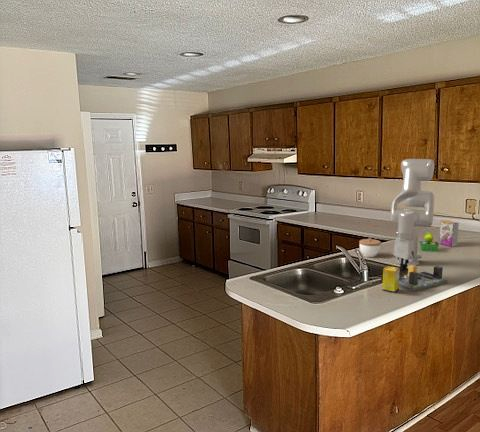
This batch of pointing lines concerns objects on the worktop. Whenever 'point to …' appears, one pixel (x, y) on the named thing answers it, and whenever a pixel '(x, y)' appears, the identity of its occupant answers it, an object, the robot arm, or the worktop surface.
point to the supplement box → (390, 279)
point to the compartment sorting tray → (422, 280)
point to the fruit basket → (428, 243)
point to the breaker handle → (412, 268)
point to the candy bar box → (448, 233)
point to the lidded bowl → (369, 247)
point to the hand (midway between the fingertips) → (403, 270)
